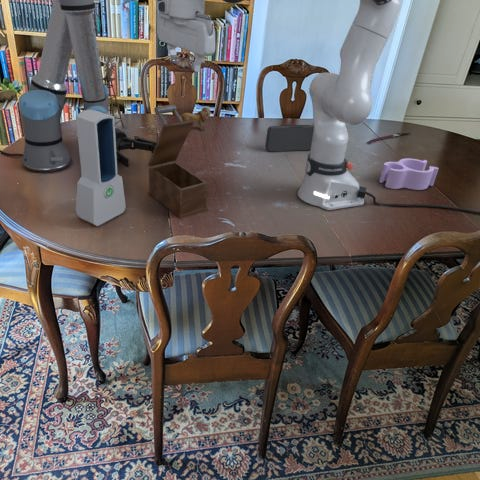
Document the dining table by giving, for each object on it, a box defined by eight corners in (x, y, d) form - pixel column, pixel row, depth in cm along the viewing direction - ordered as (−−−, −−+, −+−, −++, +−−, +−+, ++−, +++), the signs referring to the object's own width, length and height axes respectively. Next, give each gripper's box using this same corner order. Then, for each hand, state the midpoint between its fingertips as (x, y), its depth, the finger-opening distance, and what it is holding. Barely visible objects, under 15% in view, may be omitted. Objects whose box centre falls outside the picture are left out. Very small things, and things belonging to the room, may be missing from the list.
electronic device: (94, 228, 128) (85, 122, 112) (75, 219, 131) (63, 114, 115) (126, 211, 138) (122, 111, 121) (108, 203, 141) (101, 104, 124)
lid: (193, 121, 135) (179, 99, 137) (165, 126, 129) (151, 103, 131) (175, 160, 149) (163, 140, 151) (149, 166, 143) (136, 145, 145)
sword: (405, 131, 223) (406, 129, 223) (410, 133, 221) (411, 131, 221) (362, 143, 208) (363, 140, 207) (367, 145, 206) (368, 143, 205)
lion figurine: (207, 125, 206) (208, 105, 201) (211, 129, 202) (212, 109, 197) (174, 126, 201) (175, 106, 196) (177, 131, 197) (178, 110, 192)
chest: (205, 209, 143) (207, 182, 138) (179, 217, 138) (180, 190, 133) (174, 187, 154) (175, 161, 149) (149, 193, 148) (148, 167, 144)
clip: (392, 192, 166) (397, 174, 162) (373, 176, 175) (377, 159, 172) (437, 188, 172) (443, 171, 168) (416, 174, 182) (422, 157, 178)
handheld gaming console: (315, 147, 196) (319, 124, 190) (317, 149, 194) (322, 126, 188) (264, 149, 189) (267, 125, 183) (266, 152, 187) (269, 127, 181)
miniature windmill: (115, 134, 188) (111, 55, 172) (96, 130, 189) (89, 52, 173) (124, 127, 195) (121, 51, 179) (105, 123, 196) (100, 48, 180)
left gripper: (142, 141, 175) (176, 162, 162) (80, 153, 159) (111, 177, 147) (142, 122, 171) (177, 142, 158) (78, 132, 155) (111, 155, 143)
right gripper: (223, 15, 111) (219, 75, 118) (172, 2, 123) (172, 57, 130) (202, 16, 107) (200, 77, 115) (152, 2, 119) (153, 58, 127)
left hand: (145, 159), depth 153 cm, fingers open, 13 cm apart
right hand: (184, 66), depth 123 cm, fingers open, 8 cm apart
